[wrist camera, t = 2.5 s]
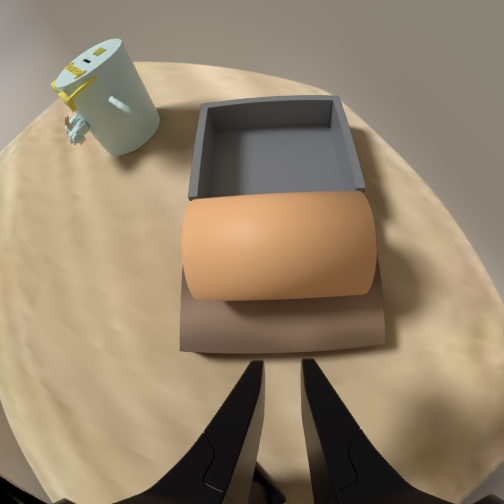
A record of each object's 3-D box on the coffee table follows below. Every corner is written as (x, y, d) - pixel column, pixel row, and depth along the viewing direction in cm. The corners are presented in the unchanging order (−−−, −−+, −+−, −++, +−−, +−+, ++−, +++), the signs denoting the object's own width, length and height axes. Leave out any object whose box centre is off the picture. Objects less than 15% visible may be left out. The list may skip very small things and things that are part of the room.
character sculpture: (73, 139, 34) (28, 85, 22) (127, 93, 36) (93, 33, 24) (123, 205, 28) (50, 131, 16) (197, 139, 30) (159, 46, 18)
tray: (354, 212, 25) (365, 187, 21) (202, 219, 26) (187, 197, 22) (334, 123, 29) (338, 95, 25) (210, 131, 30) (201, 104, 26)
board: (375, 344, 21) (385, 344, 19) (190, 350, 23) (179, 351, 20) (361, 215, 25) (368, 202, 22) (195, 223, 26) (187, 211, 24)
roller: (343, 219, 22) (362, 170, 16) (353, 302, 20) (383, 280, 13) (213, 225, 23) (187, 179, 17) (210, 308, 21) (177, 289, 15)
